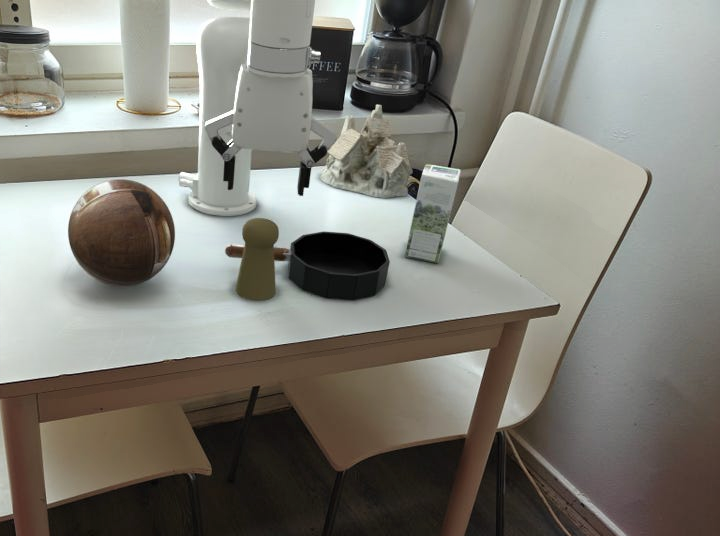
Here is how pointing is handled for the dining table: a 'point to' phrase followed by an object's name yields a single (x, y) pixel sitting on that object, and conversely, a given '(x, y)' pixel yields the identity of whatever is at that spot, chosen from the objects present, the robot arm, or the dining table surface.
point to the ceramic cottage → (368, 159)
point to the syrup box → (432, 212)
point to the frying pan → (332, 264)
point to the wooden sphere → (121, 232)
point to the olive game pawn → (258, 260)
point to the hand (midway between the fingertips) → (265, 189)
